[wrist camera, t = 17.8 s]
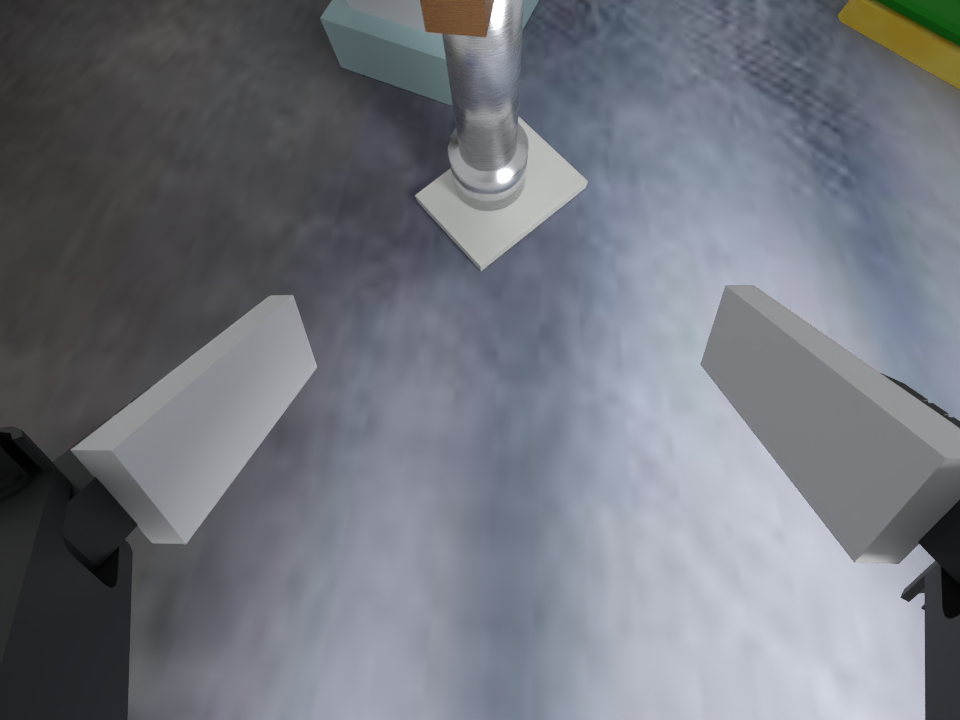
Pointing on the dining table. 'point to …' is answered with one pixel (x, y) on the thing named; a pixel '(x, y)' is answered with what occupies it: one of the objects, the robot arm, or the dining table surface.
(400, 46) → the square tube
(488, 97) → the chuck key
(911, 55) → the dish sponge
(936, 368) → the dining table surface
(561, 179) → the mat
